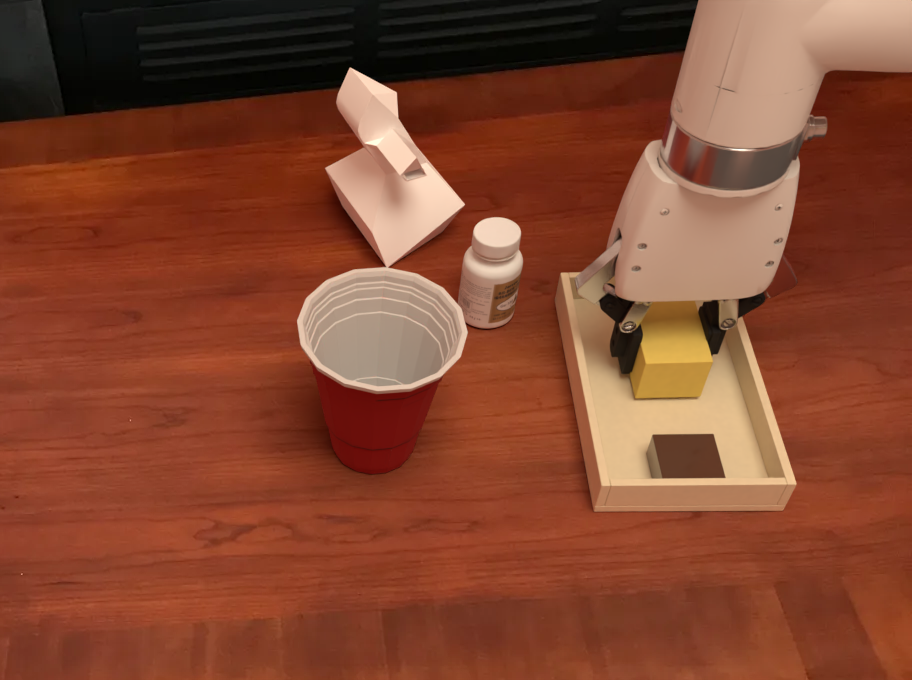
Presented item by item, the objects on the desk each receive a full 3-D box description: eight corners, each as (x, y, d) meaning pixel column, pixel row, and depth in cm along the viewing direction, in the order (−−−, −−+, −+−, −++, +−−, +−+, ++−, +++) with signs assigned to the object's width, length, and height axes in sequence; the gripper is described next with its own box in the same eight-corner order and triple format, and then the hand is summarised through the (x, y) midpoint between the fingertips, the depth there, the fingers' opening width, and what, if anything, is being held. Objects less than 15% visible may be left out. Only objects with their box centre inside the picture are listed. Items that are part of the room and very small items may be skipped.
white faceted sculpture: (398, 160, 102) (407, 12, 91) (473, 252, 94) (492, 100, 83) (311, 186, 101) (310, 39, 90) (378, 281, 93) (386, 131, 82)
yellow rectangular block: (681, 329, 85) (693, 292, 82) (700, 397, 81) (713, 361, 78) (618, 331, 86) (628, 295, 83) (635, 398, 82) (645, 363, 79)
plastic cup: (369, 530, 78) (376, 409, 68) (269, 441, 84) (262, 318, 74) (484, 451, 81) (505, 325, 72) (380, 370, 87) (387, 243, 77)
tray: (716, 296, 88) (726, 267, 86) (783, 511, 76) (797, 484, 73) (554, 300, 90) (560, 272, 88) (593, 512, 77) (601, 485, 75)
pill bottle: (503, 336, 88) (516, 256, 82) (448, 321, 89) (458, 241, 83) (521, 301, 90) (536, 220, 84) (468, 287, 92) (479, 206, 85)
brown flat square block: (705, 452, 78) (713, 433, 77) (718, 498, 76) (726, 478, 75) (645, 453, 79) (652, 433, 77) (655, 498, 77) (662, 479, 75)
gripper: (859, 96, 70) (768, 320, 84) (575, 111, 72) (534, 327, 86) (897, 171, 65) (794, 394, 80) (593, 184, 67) (546, 399, 82)
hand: (660, 357), depth 83 cm, fingers closed on yellow rectangular block, 4 cm apart
